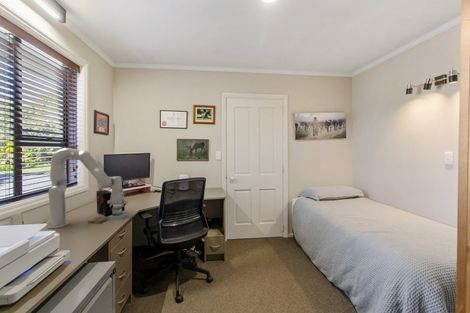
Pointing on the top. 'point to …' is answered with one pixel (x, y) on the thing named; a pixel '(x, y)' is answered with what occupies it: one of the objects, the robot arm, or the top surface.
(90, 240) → the top surface
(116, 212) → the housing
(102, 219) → the stand
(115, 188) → the robot arm
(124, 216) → the stand
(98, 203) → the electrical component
